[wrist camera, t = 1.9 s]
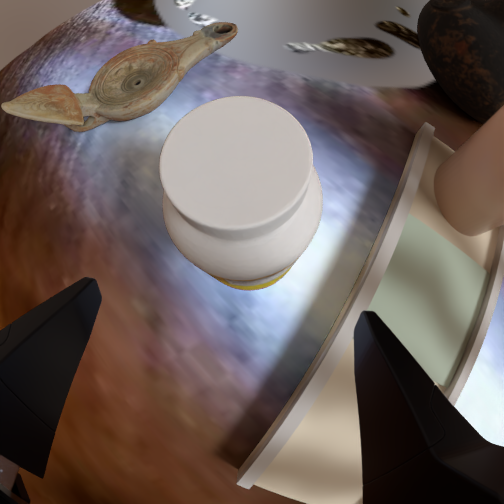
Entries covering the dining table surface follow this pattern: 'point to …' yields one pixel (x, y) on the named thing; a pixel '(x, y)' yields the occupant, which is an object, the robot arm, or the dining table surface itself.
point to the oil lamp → (124, 82)
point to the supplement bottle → (240, 190)
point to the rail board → (400, 323)
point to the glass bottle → (466, 52)
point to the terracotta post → (474, 181)
